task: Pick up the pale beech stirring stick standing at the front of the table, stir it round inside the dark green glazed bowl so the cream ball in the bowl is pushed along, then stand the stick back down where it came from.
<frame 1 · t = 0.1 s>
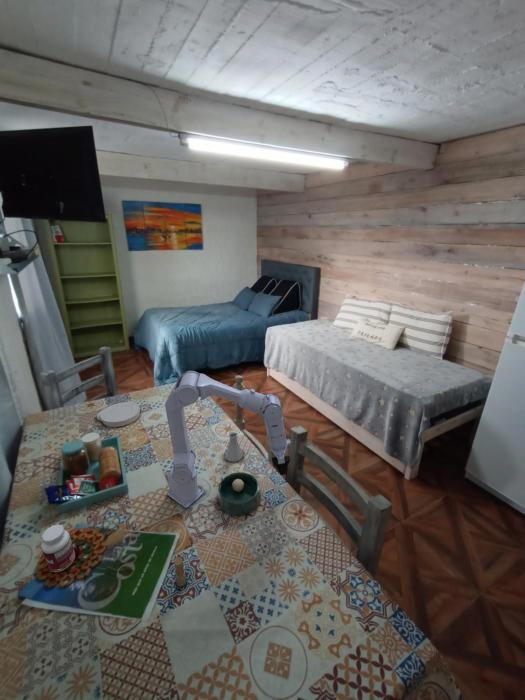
hand: (282, 465, 104), 11 cm above the table, tool pointing down, fingers open, 7 cm apart
stick: (181, 582, 80), on the table
bowl: (239, 498, 104), on the table
lid: (118, 417, 149), on the table
pill bottle: (62, 562, 85), on the table
ball: (238, 485, 106), point 3 cm above the table, touching bowl
flask: (233, 456, 124), on the table
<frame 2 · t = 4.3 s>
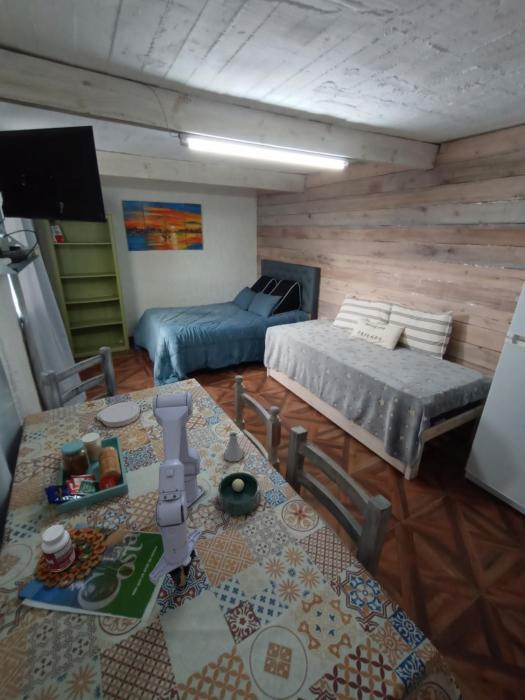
hand: (180, 577, 79), 2 cm above the table, tool pointing down, fingers closed on stick, 2 cm apart
stick: (181, 582, 80), on the table, touching gripper
everything else where it was.
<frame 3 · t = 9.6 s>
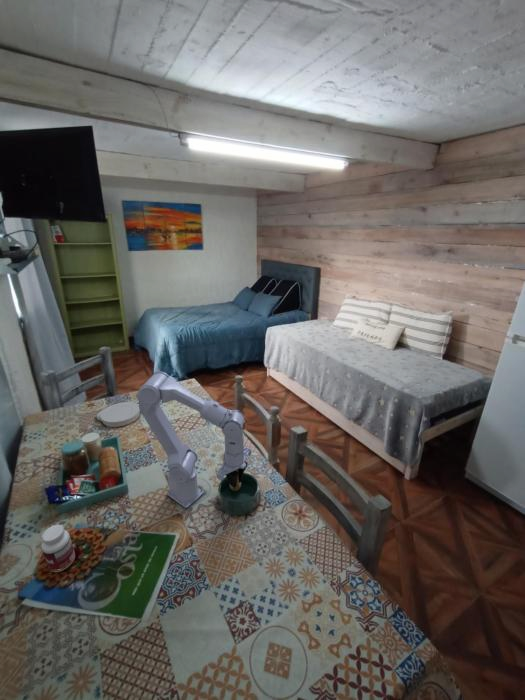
hand: (235, 483, 102), 7 cm above the table, tool pointing down, fingers closed on stick
stick: (236, 487, 102), point 5 cm above the table, touching gripper
ball: (235, 484, 107), point 3 cm above the table, tilted 31°, touching bowl
everything else where it was.
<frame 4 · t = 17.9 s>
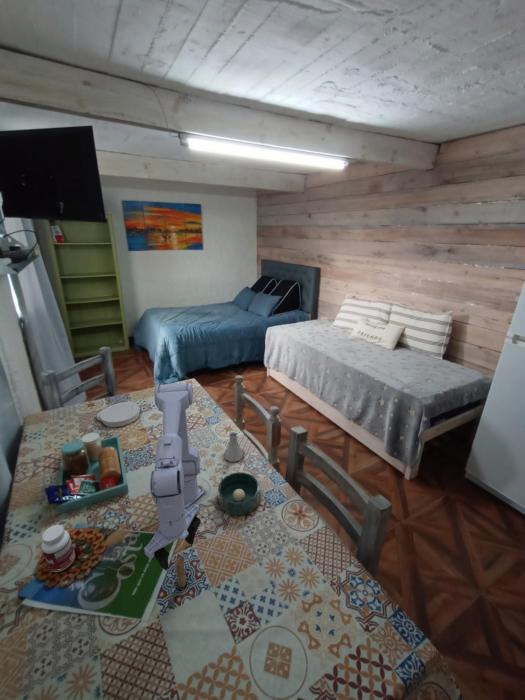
hand: (177, 554, 76), 10 cm above the table, tool pointing down, fingers open, 7 cm apart
stick: (182, 583, 80), on the table
ball: (238, 495, 102), point 3 cm above the table, tilted 121°, touching bowl
everything else where it was.
at the end: ball moved 4.4 cm from its start; ball inside the target area in the bowl (1.3 cm from its centre), point 2.6 cm above the bowl's base; stick inside the target area (0.3 cm from its centre), on the table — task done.
